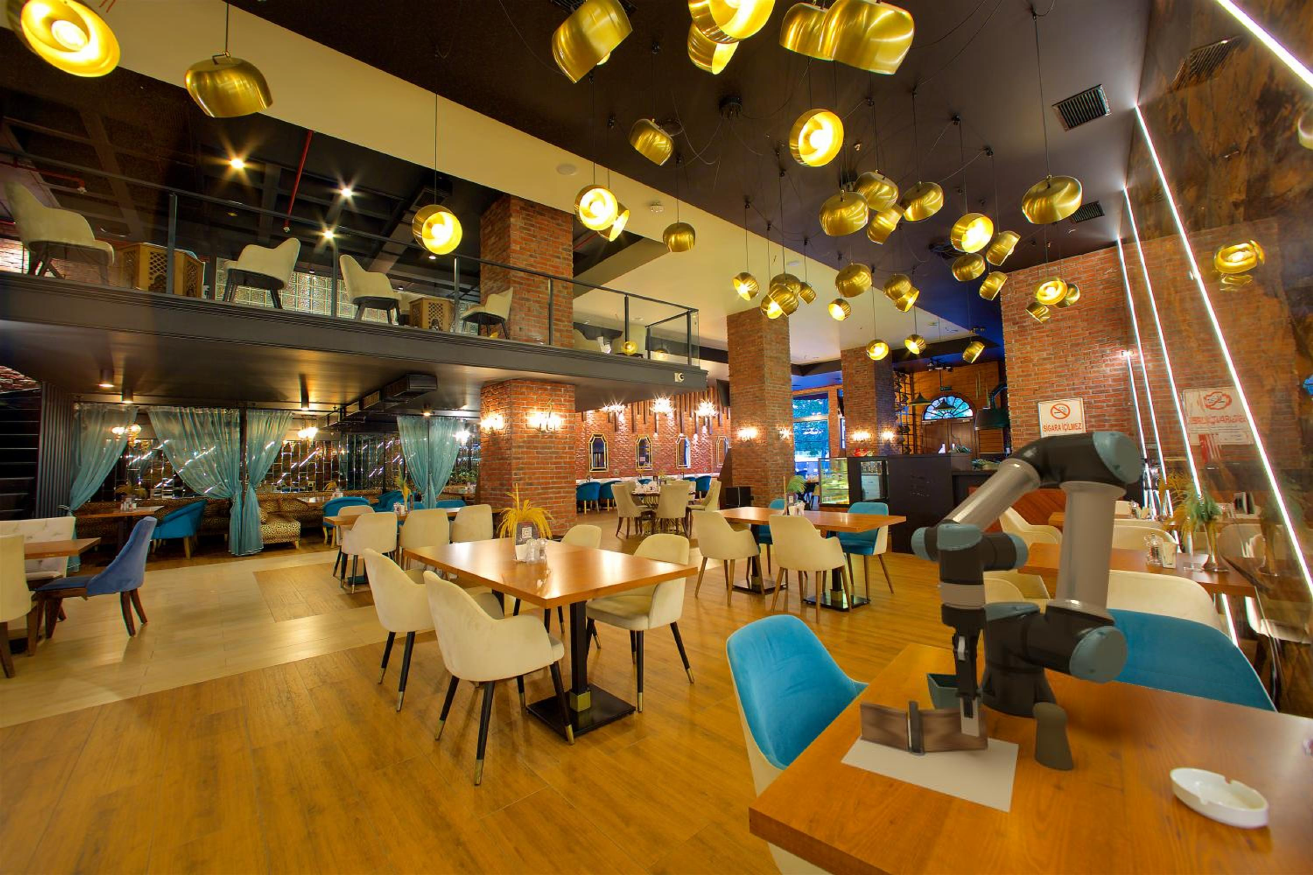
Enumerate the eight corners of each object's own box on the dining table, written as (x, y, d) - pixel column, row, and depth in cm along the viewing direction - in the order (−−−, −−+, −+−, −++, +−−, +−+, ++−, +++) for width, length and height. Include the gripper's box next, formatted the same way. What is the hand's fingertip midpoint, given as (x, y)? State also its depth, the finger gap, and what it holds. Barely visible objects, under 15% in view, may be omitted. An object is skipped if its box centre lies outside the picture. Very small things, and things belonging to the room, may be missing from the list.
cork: (1067, 761, 97) (1062, 700, 98) (1081, 779, 92) (1075, 713, 93) (1029, 757, 99) (1024, 696, 100) (1040, 773, 94) (1035, 709, 95)
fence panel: (925, 751, 99) (922, 713, 100) (920, 746, 101) (917, 709, 102) (988, 747, 100) (985, 710, 101) (982, 743, 102) (979, 706, 103)
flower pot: (987, 734, 108) (983, 689, 109) (940, 731, 110) (937, 686, 111) (970, 716, 117) (967, 674, 118) (928, 713, 119) (925, 672, 120)
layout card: (1019, 749, 102) (1018, 744, 102) (1009, 819, 81) (1009, 811, 81) (878, 716, 118) (878, 711, 118) (840, 767, 97) (840, 761, 97)
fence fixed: (921, 750, 100) (918, 701, 101) (919, 754, 99) (916, 704, 100) (864, 735, 107) (862, 689, 108) (861, 739, 105) (859, 692, 106)
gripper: (946, 597, 109) (952, 717, 106) (935, 607, 99) (942, 740, 96) (988, 601, 104) (997, 727, 102) (981, 613, 94) (990, 752, 91)
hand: (970, 733), depth 99 cm, fingers closed
